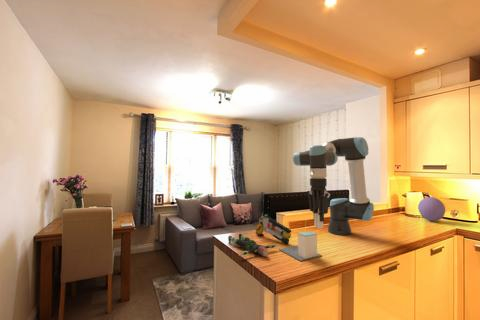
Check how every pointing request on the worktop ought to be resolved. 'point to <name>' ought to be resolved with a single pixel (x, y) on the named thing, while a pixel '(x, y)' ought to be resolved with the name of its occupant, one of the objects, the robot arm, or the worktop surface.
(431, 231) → the worktop surface
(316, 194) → the robot arm
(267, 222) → the toy gun
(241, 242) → the figurine
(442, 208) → the ball
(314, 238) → the cream rectangular block
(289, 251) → the mat
